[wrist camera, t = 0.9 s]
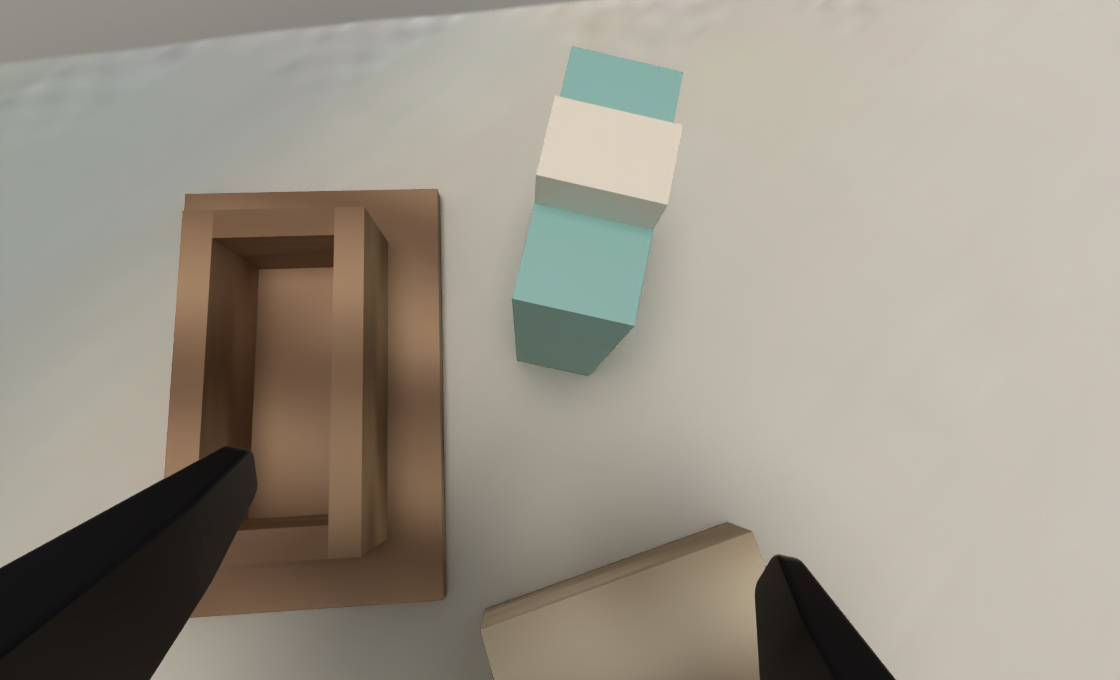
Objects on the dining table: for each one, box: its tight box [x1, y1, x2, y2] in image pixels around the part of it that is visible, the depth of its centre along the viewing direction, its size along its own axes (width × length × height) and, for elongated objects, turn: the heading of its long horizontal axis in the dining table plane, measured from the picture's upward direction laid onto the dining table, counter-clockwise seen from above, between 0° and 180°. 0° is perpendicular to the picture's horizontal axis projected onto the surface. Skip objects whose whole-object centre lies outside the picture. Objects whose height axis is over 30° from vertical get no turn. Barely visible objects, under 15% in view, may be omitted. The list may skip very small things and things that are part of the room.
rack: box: [164, 189, 446, 618], centre depth 21 cm, size 16×10×4 cm, turn 3°
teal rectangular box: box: [512, 46, 683, 376], centre depth 19 cm, size 7×3×12 cm, turn 168°
